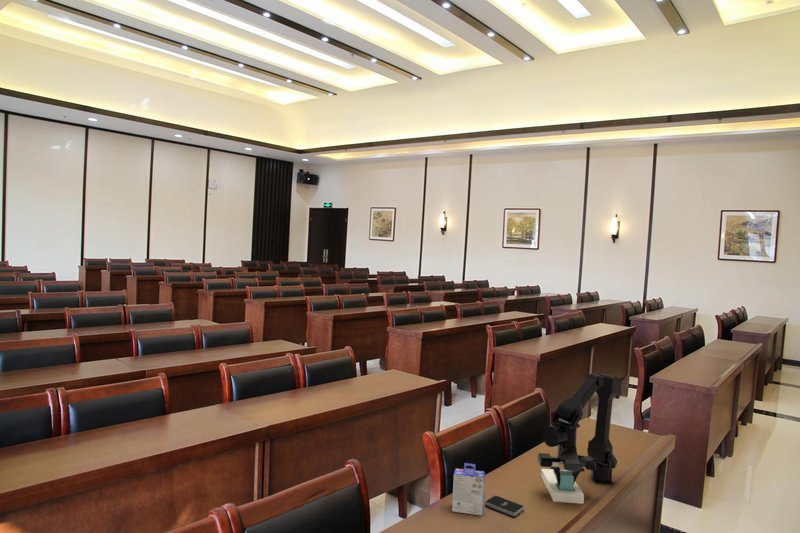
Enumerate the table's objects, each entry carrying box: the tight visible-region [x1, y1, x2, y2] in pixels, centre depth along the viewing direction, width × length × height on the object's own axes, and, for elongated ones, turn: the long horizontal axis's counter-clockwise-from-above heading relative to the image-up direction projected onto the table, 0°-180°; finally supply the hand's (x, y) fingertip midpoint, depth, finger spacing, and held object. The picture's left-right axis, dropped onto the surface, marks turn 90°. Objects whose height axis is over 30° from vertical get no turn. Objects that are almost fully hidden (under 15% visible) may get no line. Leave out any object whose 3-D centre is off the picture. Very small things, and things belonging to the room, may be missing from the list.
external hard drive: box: [484, 494, 525, 519], centre depth 166 cm, size 7×11×2 cm, turn 50°
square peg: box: [558, 469, 574, 491], centre depth 177 cm, size 4×4×6 cm
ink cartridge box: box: [451, 462, 486, 516], centre depth 164 cm, size 10×6×14 cm, turn 78°
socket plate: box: [540, 468, 585, 505], centre depth 182 cm, size 10×20×3 cm, turn 176°
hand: (565, 485), depth 177 cm, fingers closed on square peg, 4 cm apart
